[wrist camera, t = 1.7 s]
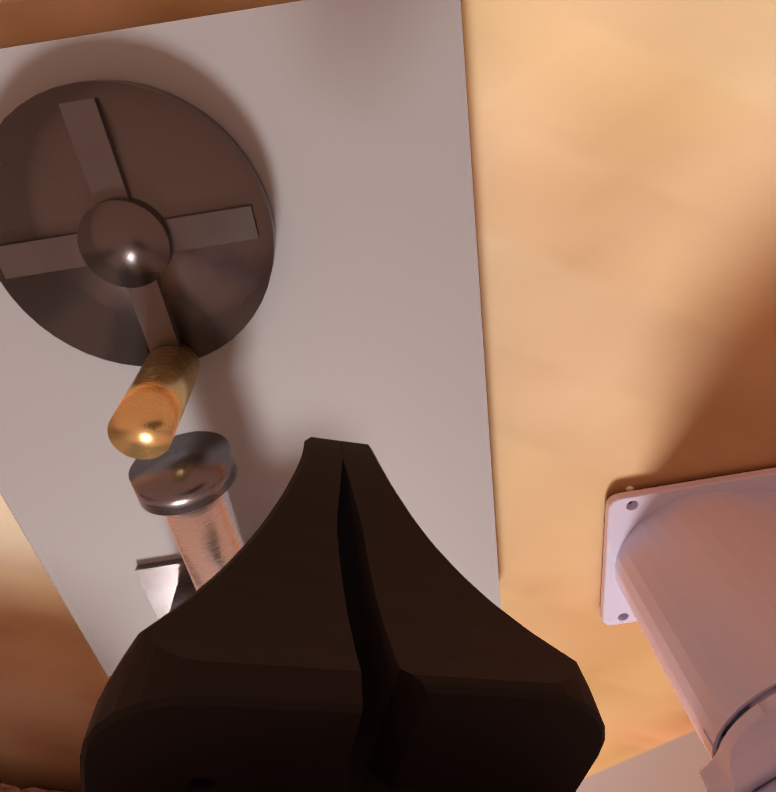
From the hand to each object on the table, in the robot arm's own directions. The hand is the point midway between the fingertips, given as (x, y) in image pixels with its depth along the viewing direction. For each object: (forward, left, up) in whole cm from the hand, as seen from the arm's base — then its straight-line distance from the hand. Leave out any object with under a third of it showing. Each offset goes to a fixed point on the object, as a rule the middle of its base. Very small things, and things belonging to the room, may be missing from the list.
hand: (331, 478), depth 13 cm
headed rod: (+5, +9, -6) cm, 12 cm away
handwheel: (+5, -4, -8) cm, 10 cm away
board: (+4, +3, -9) cm, 11 cm away
